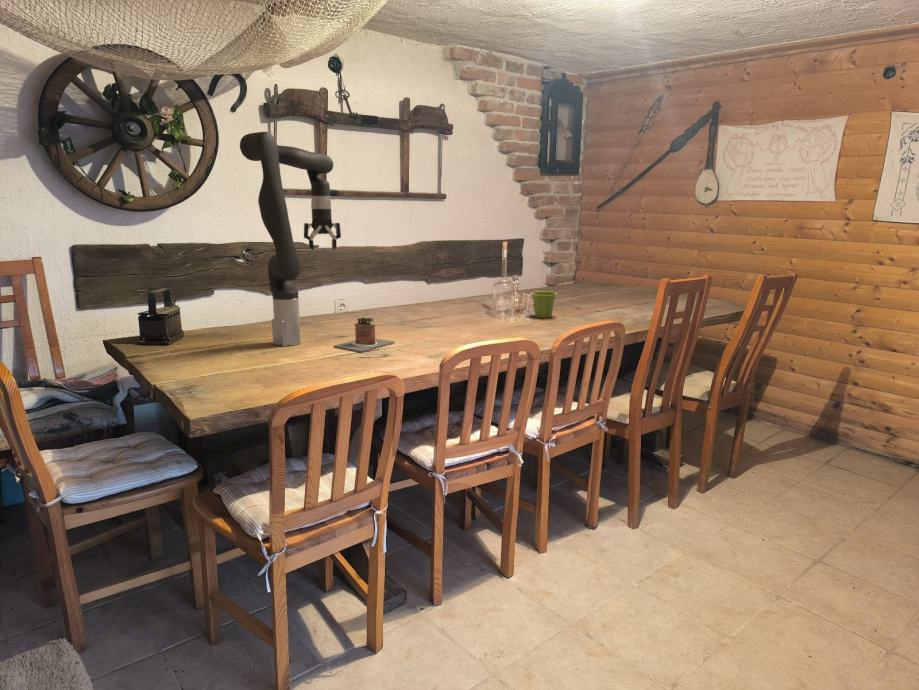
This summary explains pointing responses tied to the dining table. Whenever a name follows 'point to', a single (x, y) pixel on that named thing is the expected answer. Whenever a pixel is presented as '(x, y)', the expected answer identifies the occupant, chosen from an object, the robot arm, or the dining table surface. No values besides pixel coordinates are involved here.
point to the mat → (363, 348)
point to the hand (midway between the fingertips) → (323, 249)
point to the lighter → (365, 331)
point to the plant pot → (543, 303)
